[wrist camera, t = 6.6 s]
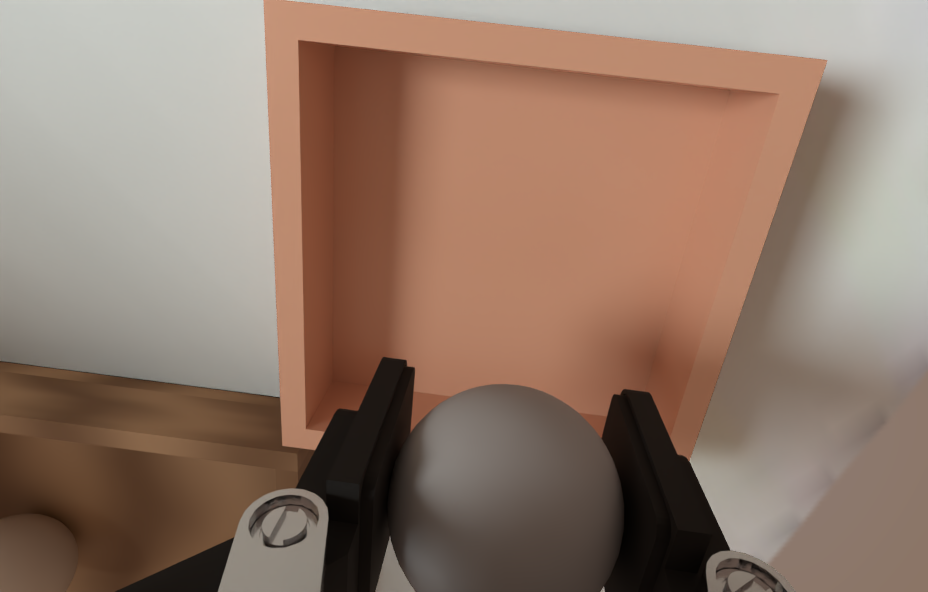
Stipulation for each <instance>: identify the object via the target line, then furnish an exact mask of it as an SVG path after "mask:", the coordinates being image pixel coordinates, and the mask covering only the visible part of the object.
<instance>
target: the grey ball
mask: <svg viewBox="0 0 928 592" xmlns="http://www.w3.org/2000/svg"><path fill="white" fill-rule="evenodd" d="M387 514H388V525H389V532H390V537H391V542H392V545H393V548H394V551H395V554H396V557H397V560H398V562H399V565H400V567H401V568H402V570H403V572H404V574H405V576H406V577H407V579H408V581H409V583H410V584H411V586H412V587H413V588H414V590H415V591H416V592H600V591H601V590H602V588H603V587H604V585H605V583H606V582H607V580H608V579H609V577H610V575H611V573H612V570H613V568H614V565H615V563H616V560H617V558H618V555H619V552H620V547H621V543H622V537H623V532H624V500H623V493H622V487H621V482H620V479H619V475H618V472H617V469H616V467H615V464H614V461H613V459H612V457H611V455H610V453H609V451H608V449H607V447H606V446H605V444H604V442H603V441H602V439H601V438H600V436H599V435H598V433H597V432H596V431H595V429H594V428H593V427H592V426H591V425H590V424H589V423H588V422H587V421H586V420H585V419H584V418H583V417H582V416H581V415H580V414H579V413H578V412H577V411H575V410H574V409H573V408H572V407H570V406H569V405H567V404H566V403H564V402H562V401H561V400H559V399H557V398H556V397H554V396H552V395H550V394H548V393H545V392H543V391H540V390H537V389H534V388H531V387H526V386H521V385H512V384H491V385H485V386H479V387H475V388H471V389H468V390H465V391H463V392H460V393H458V394H456V395H454V396H452V397H450V398H448V399H447V400H445V401H443V402H441V403H440V404H438V405H437V406H436V407H434V408H433V409H432V410H431V411H430V412H429V413H428V414H427V415H426V416H425V417H424V418H423V419H422V420H421V421H420V422H419V423H418V424H417V425H416V426H415V427H414V429H413V430H412V432H411V433H410V434H409V436H408V437H407V439H406V440H405V442H404V444H403V446H402V448H401V450H400V452H399V454H398V457H397V459H396V461H395V464H394V468H393V472H392V476H391V480H390V485H389V493H388V502H387Z"/></svg>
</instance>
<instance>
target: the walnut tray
mask: <svg viewBox="0 0 928 592" xmlns="http://www.w3.org/2000/svg"><path fill="white" fill-rule="evenodd" d="M314 452H315V450H310V449H303V448H295V447H287V446H282V426H281V402H280V398H278V397H270V396H262V395H254V394H247V393H239V392H231V391H224V390H216V389H208V388H200V387H193V386H185V385H177V384H169V383H162V382H154V381H146V380H139V379H131V378H123V377H115V376H108V375H100V374H92V373H84V372H77V371H69V370H61V369H53V368H46V367H38V366H30V365H23V364H15V363H7V362H0V519H2V518H5V517H8V516H13V515H18V514H41V515H45V516H49V517H52V518H54V519H56V520H58V521H60V522H61V523H63V524H64V525H65V526H66V527H67V528H68V529H69V530H70V531H71V533H72V534H73V536H74V538H75V540H76V543H77V547H78V564H77V568H76V572H75V575H74V577H73V579H72V581H71V583H70V585H69V587H68V589H67V590H66V591H65V592H115V591H117V590H119V589H122V588H124V587H126V586H128V585H130V584H133V583H135V582H137V581H139V580H141V579H144V578H146V577H148V576H150V575H152V574H155V573H157V572H159V571H161V570H163V569H165V568H168V567H170V566H172V565H174V564H176V563H179V562H181V561H183V560H185V559H187V558H190V557H192V556H194V555H196V554H198V553H201V552H203V551H205V550H207V549H209V548H211V547H214V546H216V545H218V544H220V543H222V542H225V541H227V540H229V539H231V538H233V537H235V534H236V531H237V527H238V524H239V521H240V519H241V517H242V515H243V513H244V511H245V510H246V509H247V508H248V507H249V506H250V505H251V504H252V503H253V502H254V501H256V500H257V499H259V498H261V497H262V496H264V495H266V494H268V493H271V492H274V491H277V490H282V489H290V488H293V489H295V488H296V486H297V484H298V482H299V480H300V478H301V476H302V474H303V473H304V471H305V469H306V467H307V465H308V463H309V461H310V459H311V457H312V455H313V453H314Z"/></svg>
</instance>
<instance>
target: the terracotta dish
mask: <svg viewBox="0 0 928 592" xmlns="http://www.w3.org/2000/svg"><path fill="white" fill-rule="evenodd" d="M264 21H265V45H266V69H267V93H268V117H269V140H270V164H271V188H272V212H273V236H274V259H275V283H276V307H277V331H278V355H279V378H280V402H281V426H282V446H287V447H295V448H303V449H310V450H316V448H317V446H318V444H319V442H320V440H321V438H322V436H323V434H324V432H325V431H326V429H327V427H328V425H329V423H330V421H331V419H332V417H333V415H334V413H335V412H336V410H337V409H339V408H341V409H348V410H355V411H358V409H359V407H360V405H361V403H362V401H363V398H364V396H365V394H366V392H367V390H368V388H369V385H370V383H371V381H372V379H373V377H374V374H375V372H376V370H377V368H378V366H379V364H380V361H381V359H382V358H383V357H388V358H396V359H403V360H407V366H409V367H415V379H414V392H413V405H412V418H411V431H410V433H411V432H412V430H413V429H414V427H415V426H416V425H417V424H418V423H419V422H420V421H421V420H422V419H423V418H424V417H425V416H426V415H427V414H428V413H429V412H430V411H431V410H432V409H433V408H434V407H436V406H437V405H438V404H440V403H441V402H443V401H445V400H447V399H448V398H450V397H452V396H454V395H456V394H458V393H460V392H463V391H465V390H468V389H471V388H475V387H479V386H485V385H491V384H512V385H521V386H526V387H531V388H534V389H537V390H540V391H543V392H545V393H548V394H550V395H552V396H554V397H556V398H557V399H559V400H561V401H562V402H564V403H566V404H567V405H569V406H570V407H572V408H573V409H574V410H575V411H577V412H578V413H579V414H580V415H581V416H582V417H583V418H584V419H585V420H586V421H587V422H588V423H589V424H590V425H591V426H592V427H593V428H594V429H595V431H596V432H597V433H598V435H599V436H600V438H602V434H603V430H604V426H605V422H606V418H607V414H608V410H609V407H610V403H611V399H612V396H613V395H614V394H618V395H620V394H621V392H622V390H623V389H629V390H636V391H644V392H649V393H650V394H651V395H652V398H653V400H654V402H655V404H656V407H657V409H658V411H659V414H660V416H661V418H662V420H663V423H664V425H665V427H666V429H667V432H668V434H669V436H670V439H671V441H672V443H673V445H674V448H675V450H676V452H677V454H678V455H683V456H685V457H686V458H687V459H688V461H690V458H691V455H692V452H693V449H694V446H695V443H696V440H697V437H698V434H699V432H700V429H701V426H702V423H703V420H704V417H705V414H706V411H707V408H708V405H709V403H710V400H711V397H712V394H713V391H714V388H715V385H716V382H717V379H718V376H719V373H720V371H721V368H722V365H723V362H724V359H725V356H726V353H727V350H728V347H729V344H730V342H731V339H732V336H733V333H734V330H735V327H736V324H737V321H738V318H739V315H740V313H741V310H742V307H743V304H744V301H745V298H746V295H747V292H748V289H749V286H750V284H751V281H752V278H753V275H754V272H755V269H756V266H757V263H758V260H759V257H760V255H761V252H762V249H763V246H764V243H765V240H766V237H767V234H768V231H769V228H770V226H771V223H772V220H773V217H774V214H775V211H776V208H777V205H778V202H779V199H780V197H781V194H782V191H783V188H784V185H785V182H786V179H787V176H788V173H789V170H790V168H791V165H792V162H793V159H794V156H795V153H796V150H797V147H798V144H799V141H800V139H801V136H802V133H803V130H804V127H805V124H806V121H807V118H808V115H809V112H810V110H811V107H812V104H813V101H814V98H815V95H816V92H817V89H818V86H819V83H820V81H821V78H822V75H823V72H824V69H825V66H826V63H827V60H822V59H813V58H804V57H795V56H786V55H776V54H767V53H758V52H749V51H740V50H731V49H722V48H713V47H704V46H695V45H686V44H677V43H667V42H658V41H649V40H640V39H631V38H622V37H613V36H604V35H595V34H586V33H577V32H567V31H558V30H549V29H540V28H531V27H522V26H513V25H504V24H495V23H486V22H477V21H468V20H458V19H449V18H440V17H431V16H422V15H413V14H404V13H395V12H386V11H377V10H368V9H359V8H349V7H340V6H331V5H322V4H313V3H304V2H295V1H286V0H264Z"/></svg>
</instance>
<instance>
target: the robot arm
mask: <svg viewBox="0 0 928 592" xmlns="http://www.w3.org/2000/svg"><path fill="white" fill-rule="evenodd" d="M414 379H415V367H409V366H407V360H403V359H396V358H388V357H383V358H382V359H381V361H380V364H379V366H378V368H377V370H376V372H375V374H374V377H373V379H372V381H371V383H370V385H369V388H368V390H367V392H366V394H365V396H364V398H363V401H362V403H361V405H360V407H359V409H358V411H355V410H348V409H341V408H339V409H337V410H336V412H335V413H334V415H333V417H332V419H331V421H330V423H329V425H328V427H327V429H326V431H325V432H324V434H323V436H322V438H321V440H320V442H319V444H318V446H317V448H316V450H315V452H314V453H313V455H312V457H311V459H310V461H309V463H308V465H307V467H306V469H305V471H304V473H303V474H302V476H301V478H300V480H299V482H298V484H297V486H296V488H295V489H293V488H290V489H282V490H277V491H274V492H271V493H268V494H266V495H264V496H262V497H261V498H259V499H257V500H256V501H254V502H253V503H252V504H251V505H250V506H249V507H248V508H247V509H246V510H245V511H244V513H243V515H242V517H241V519H240V521H239V524H238V527H237V531H236V534H235V537H233V538H231V539H229V540H227V541H225V542H222V543H220V544H218V545H216V546H214V547H211V548H209V549H207V550H205V551H203V552H201V553H198V554H196V555H194V556H192V557H190V558H187V559H185V560H183V561H181V562H179V563H176V564H174V565H172V566H170V567H168V568H165V569H163V570H161V571H159V572H157V573H155V574H152V575H150V576H148V577H146V578H144V579H141V580H139V581H137V582H135V583H133V584H130V585H128V586H126V587H124V588H122V589H119V590H117V591H115V592H375V590H376V586H377V583H378V579H379V575H380V571H381V567H382V564H383V560H384V556H385V552H386V549H387V545H388V541H389V537H390V532H389V525H388V514H387V502H388V493H389V485H390V480H391V476H392V472H393V468H394V464H395V461H396V459H397V457H398V454H399V452H400V450H401V448H402V446H403V444H404V442H405V440H406V439H407V437H408V436H409V434H410V431H411V418H412V405H413V392H414ZM601 439H602V441H603V442H604V444H605V446H606V447H607V449H608V451H609V453H610V455H611V457H612V459H613V461H614V464H615V467H616V469H617V472H618V475H619V479H620V482H621V487H622V493H623V500H624V532H623V537H622V543H621V547H620V552H619V555H618V558H617V560H616V563H615V565H614V568H613V570H612V573H611V575H610V577H609V579H608V580H607V582H606V583H605V585H604V588H605V592H796V591H795V590H794V589H793V588H792V586H791V585H790V584H789V582H788V581H787V580H786V579H785V578H784V577H783V576H782V575H781V574H780V573H778V572H777V571H776V570H775V569H774V568H773V567H771V566H769V565H768V564H766V563H765V562H763V561H761V560H760V559H758V558H755V557H753V556H750V555H748V554H746V553H741V552H736V551H730V548H729V546H728V544H727V542H726V540H725V538H724V535H723V533H722V531H721V529H720V527H719V525H718V523H717V520H716V518H715V516H714V514H713V512H712V510H711V507H710V505H709V503H708V501H707V499H706V497H705V494H704V492H703V490H702V488H701V486H700V484H699V481H698V479H697V477H696V475H695V473H694V471H693V468H692V466H691V464H690V462H689V461H688V459H687V458H686V457H685V456H683V455H678V454H677V452H676V450H675V448H674V445H673V443H672V441H671V439H670V436H669V434H668V432H667V429H666V427H665V425H664V423H663V420H662V418H661V416H660V414H659V411H658V409H657V407H656V404H655V402H654V400H653V398H652V395H651V394H650V393H649V392H644V391H636V390H629V389H623V390H622V392H621V394H620V395H618V394H614V395H613V396H612V399H611V403H610V407H609V410H608V414H607V418H606V422H605V426H604V430H603V434H602V438H601Z"/></svg>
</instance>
